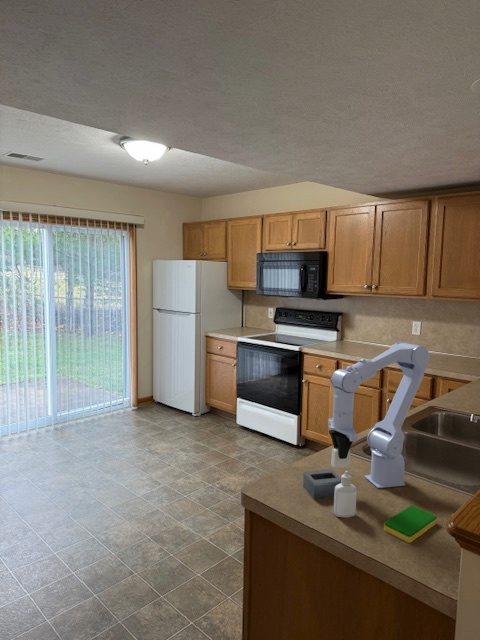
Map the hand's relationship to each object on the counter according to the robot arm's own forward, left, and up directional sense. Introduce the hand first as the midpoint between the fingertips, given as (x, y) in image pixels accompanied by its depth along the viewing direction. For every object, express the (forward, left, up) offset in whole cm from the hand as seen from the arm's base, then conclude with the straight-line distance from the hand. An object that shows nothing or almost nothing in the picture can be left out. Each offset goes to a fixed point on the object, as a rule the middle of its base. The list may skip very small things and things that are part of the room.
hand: (340, 456), depth 129 cm
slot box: (+5, -1, -11) cm, 12 cm away
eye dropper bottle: (+5, +12, -11) cm, 17 cm away
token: (0, 0, -3) cm, 3 cm away
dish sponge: (-9, +21, -11) cm, 26 cm away
